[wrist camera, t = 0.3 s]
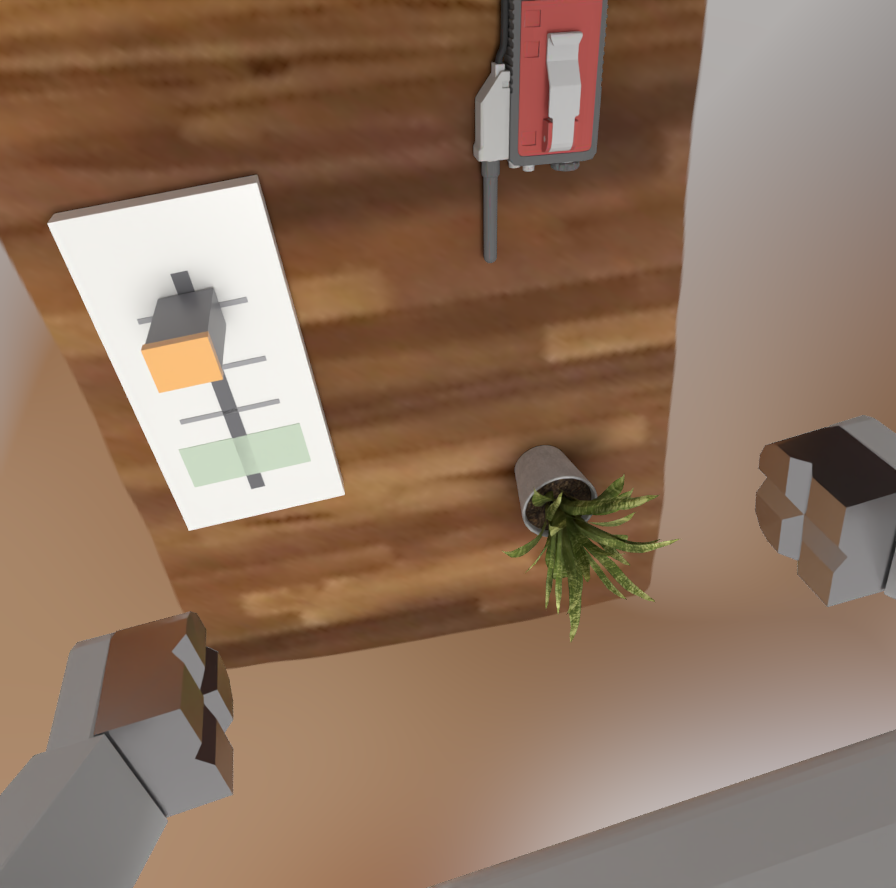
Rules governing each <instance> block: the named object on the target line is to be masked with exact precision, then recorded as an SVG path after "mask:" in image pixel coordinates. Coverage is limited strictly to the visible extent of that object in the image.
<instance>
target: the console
mask: <svg viewBox="0 0 896 888" xmlns="http://www.w3.org/2000/svg"><path fill="white" fill-rule="evenodd" d="M47 224H48V226H49V228H50V230H51V233H52V235H53V237H54V239H55V241H56V243H57V246H58V248H59V250H60V252H61V254H62V256H63V259H64V261H65V263H66V265H67V267H68V269H69V272H70V274H71V276H72V278H73V280H74V282H75V285H76V287H77V289H78V291H79V293H80V295H81V297H82V300H83V302H84V304H85V306H86V308H87V310H88V313H89V315H90V317H91V319H92V321H93V323H94V326H95V328H96V330H97V332H98V334H99V336H100V339H101V341H102V343H103V345H104V347H105V349H106V352H107V354H108V356H109V358H110V360H111V362H112V365H113V367H114V369H115V371H116V373H117V375H118V378H119V380H120V382H121V384H122V386H123V388H124V391H125V393H126V395H127V397H128V399H129V401H130V404H131V406H132V408H133V410H134V412H135V414H136V417H137V419H138V421H139V423H140V425H141V427H142V430H143V432H144V434H145V436H146V438H147V440H148V443H149V445H150V447H151V449H152V451H153V453H154V456H155V458H156V460H157V462H158V464H159V466H160V469H161V471H162V473H163V475H164V477H165V479H166V482H167V484H168V486H169V488H170V490H171V492H172V495H173V497H174V499H175V501H176V503H177V505H178V508H179V510H180V512H181V514H182V516H183V518H184V521H185V523H186V525H187V527H188V529H189V531H190V530H194V529H198V528H203V527H207V526H211V525H216V524H220V523H224V522H229V521H233V520H238V519H242V518H246V517H251V516H255V515H259V514H264V513H268V512H272V511H277V510H281V509H285V508H290V507H294V506H298V505H303V504H307V503H311V502H316V501H320V500H324V499H329V498H333V497H337V496H342V495H345V492H344V484H343V479H342V476H341V472H340V469H339V465H338V461H337V458H336V454H335V451H334V447H333V443H332V440H331V436H330V433H329V429H328V426H327V422H326V418H325V415H324V411H323V408H322V404H321V401H320V397H319V393H318V390H317V386H316V383H315V379H314V375H313V372H312V368H311V365H310V361H309V358H308V354H307V350H306V347H305V343H304V340H303V336H302V333H301V329H300V325H299V322H298V318H297V315H296V311H295V307H294V304H293V300H292V297H291V293H290V290H289V286H288V282H287V279H286V275H285V272H284V268H283V265H282V261H281V257H280V254H279V250H278V247H277V243H276V239H275V236H274V232H273V229H272V225H271V222H270V218H269V214H268V211H267V207H266V204H265V200H264V197H263V193H262V189H261V186H260V182H259V179H258V175H252V176H247V177H242V178H237V179H232V180H226V181H221V182H216V183H211V184H206V185H201V186H195V187H190V188H185V189H180V190H175V191H169V192H164V193H159V194H154V195H149V196H143V197H138V198H133V199H128V200H123V201H118V202H112V203H107V204H102V205H97V206H92V207H86V208H81V209H76V210H71V211H66V212H60V213H55V214H54V215H53V216H52V217H51V219H50V220H49V222H48V223H47ZM209 288H214V290H215V293H216V296H217V299H218V302H219V305H220V308H221V311H222V314H223V316H224V319H225V322H226V333H225V344H224V354H223V364H222V370H223V373H224V375H223V380H218V381H214V382H209V383H204V384H200V385H195V386H190V387H186V388H181V389H176V390H172V391H167V392H162V393H159V392H158V390H157V387H156V385H155V383H154V380H153V378H152V376H151V373H150V371H149V369H148V366H147V364H146V362H145V359H144V357H143V355H142V352H141V348H142V345H144V344H145V343H146V339H147V336H148V332H149V329H150V325H151V322H152V318H153V314H154V311H155V307H156V304H157V300H158V299H160V298H165V297H170V296H175V295H180V294H185V293H190V292H195V291H200V290H204V289H209Z"/></svg>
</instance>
